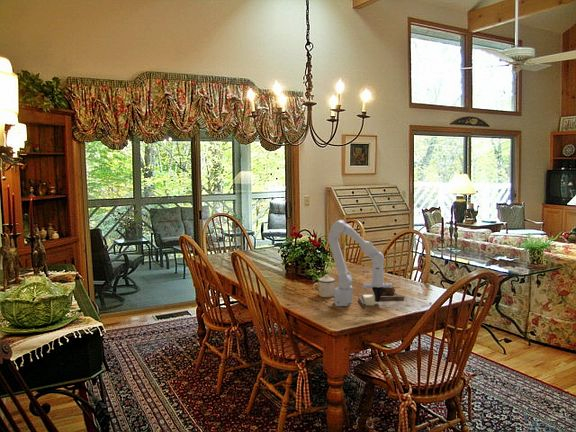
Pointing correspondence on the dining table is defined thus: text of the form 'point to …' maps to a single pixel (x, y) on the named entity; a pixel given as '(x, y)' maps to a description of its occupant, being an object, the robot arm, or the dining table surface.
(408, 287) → the dining table surface
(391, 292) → the decorative turtle
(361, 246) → the robot arm
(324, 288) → the teacup with lid
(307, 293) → the dining table surface
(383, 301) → the trap box
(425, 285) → the dining table surface
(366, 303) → the cream block
